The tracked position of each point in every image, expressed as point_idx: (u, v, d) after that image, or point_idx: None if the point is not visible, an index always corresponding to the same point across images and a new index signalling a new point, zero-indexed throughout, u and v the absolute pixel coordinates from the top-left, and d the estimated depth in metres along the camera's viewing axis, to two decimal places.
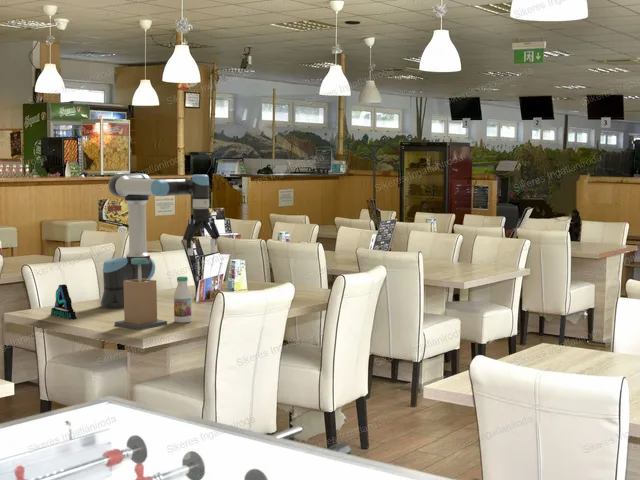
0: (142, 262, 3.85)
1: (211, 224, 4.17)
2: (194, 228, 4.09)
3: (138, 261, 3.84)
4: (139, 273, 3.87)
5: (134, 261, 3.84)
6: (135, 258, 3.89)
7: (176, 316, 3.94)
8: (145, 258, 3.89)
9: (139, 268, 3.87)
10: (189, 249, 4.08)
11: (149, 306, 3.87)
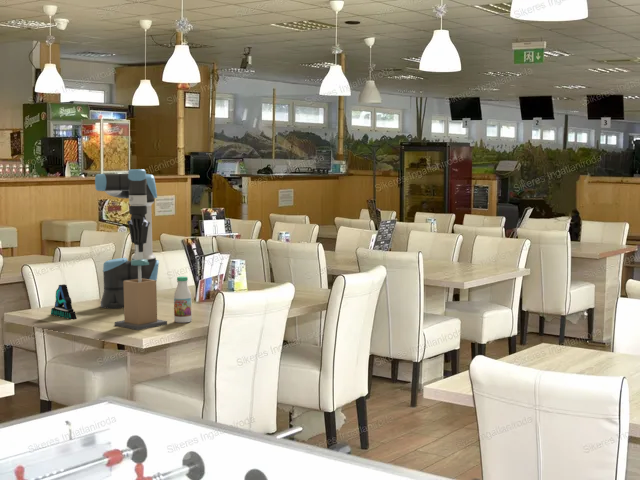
0: (142, 263, 3.85)
1: None
2: None
3: (138, 262, 3.84)
4: (139, 274, 3.88)
5: (134, 262, 3.84)
6: (135, 259, 3.89)
7: (176, 316, 3.94)
8: (145, 259, 3.89)
9: (139, 269, 3.87)
10: None
11: (149, 306, 3.87)
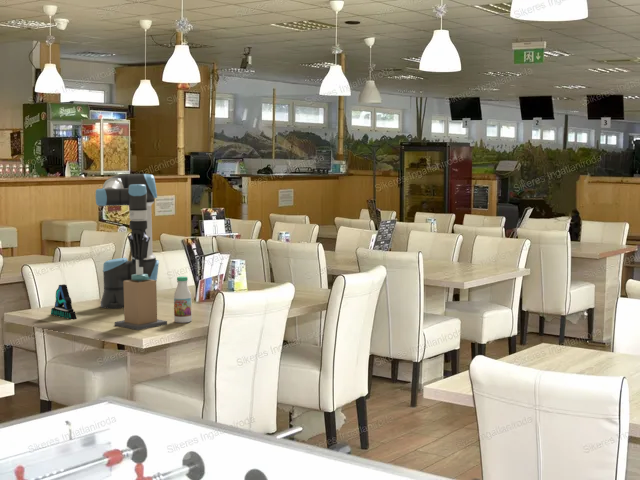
0: (142, 278, 3.85)
1: None
2: None
3: (138, 277, 3.85)
4: None
5: (134, 277, 3.85)
6: (135, 274, 3.90)
7: (176, 316, 3.94)
8: (145, 274, 3.89)
9: None
10: None
11: (149, 306, 3.87)
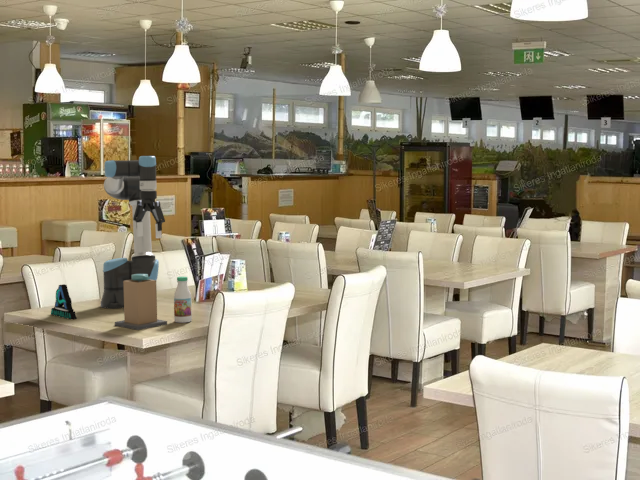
0: (142, 278, 3.85)
1: None
2: None
3: (138, 277, 3.85)
4: None
5: (134, 277, 3.85)
6: (135, 274, 3.90)
7: (176, 316, 3.94)
8: (145, 274, 3.89)
9: None
10: None
11: (149, 306, 3.87)
